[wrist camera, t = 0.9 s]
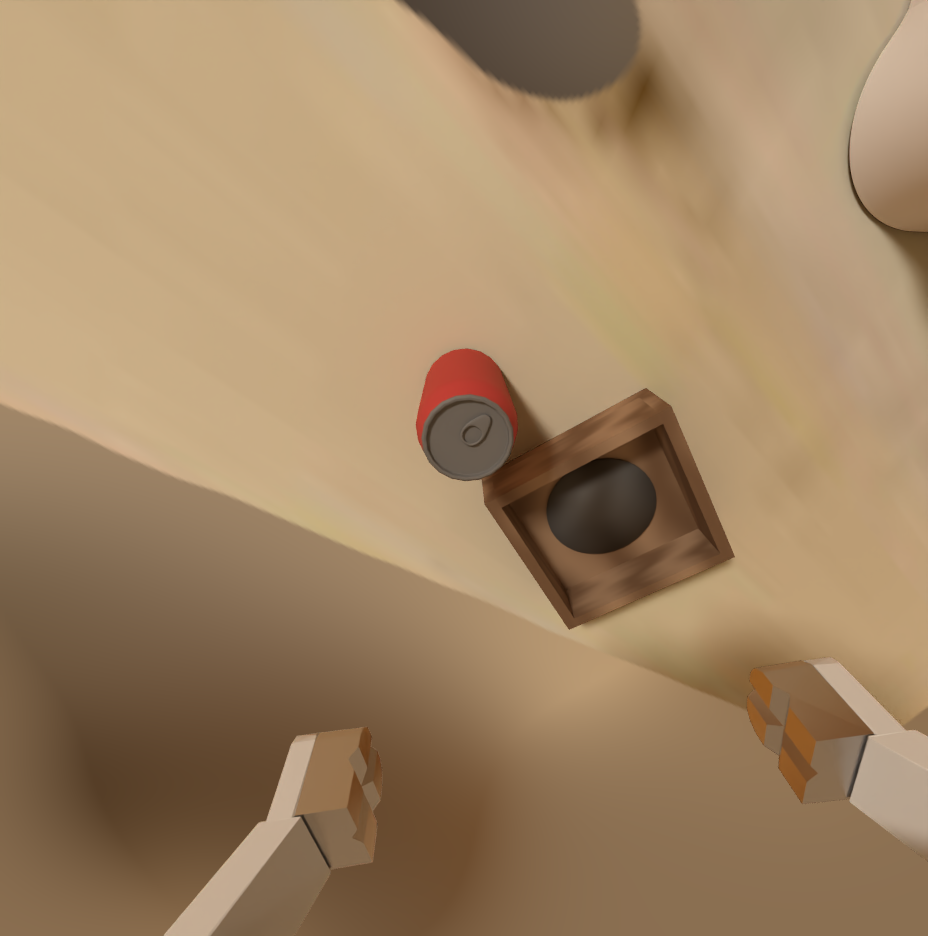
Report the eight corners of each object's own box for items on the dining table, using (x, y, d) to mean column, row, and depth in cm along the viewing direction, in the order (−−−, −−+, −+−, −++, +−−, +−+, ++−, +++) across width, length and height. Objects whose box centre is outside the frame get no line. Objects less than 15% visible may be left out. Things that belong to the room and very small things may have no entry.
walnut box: (646, 388, 38) (671, 406, 34) (706, 525, 44) (734, 556, 40) (481, 476, 42) (484, 504, 37) (558, 593, 48) (569, 629, 43)
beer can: (520, 381, 38) (545, 432, 27) (469, 438, 40) (474, 507, 29) (458, 329, 36) (459, 362, 25) (409, 392, 38) (390, 448, 28)
